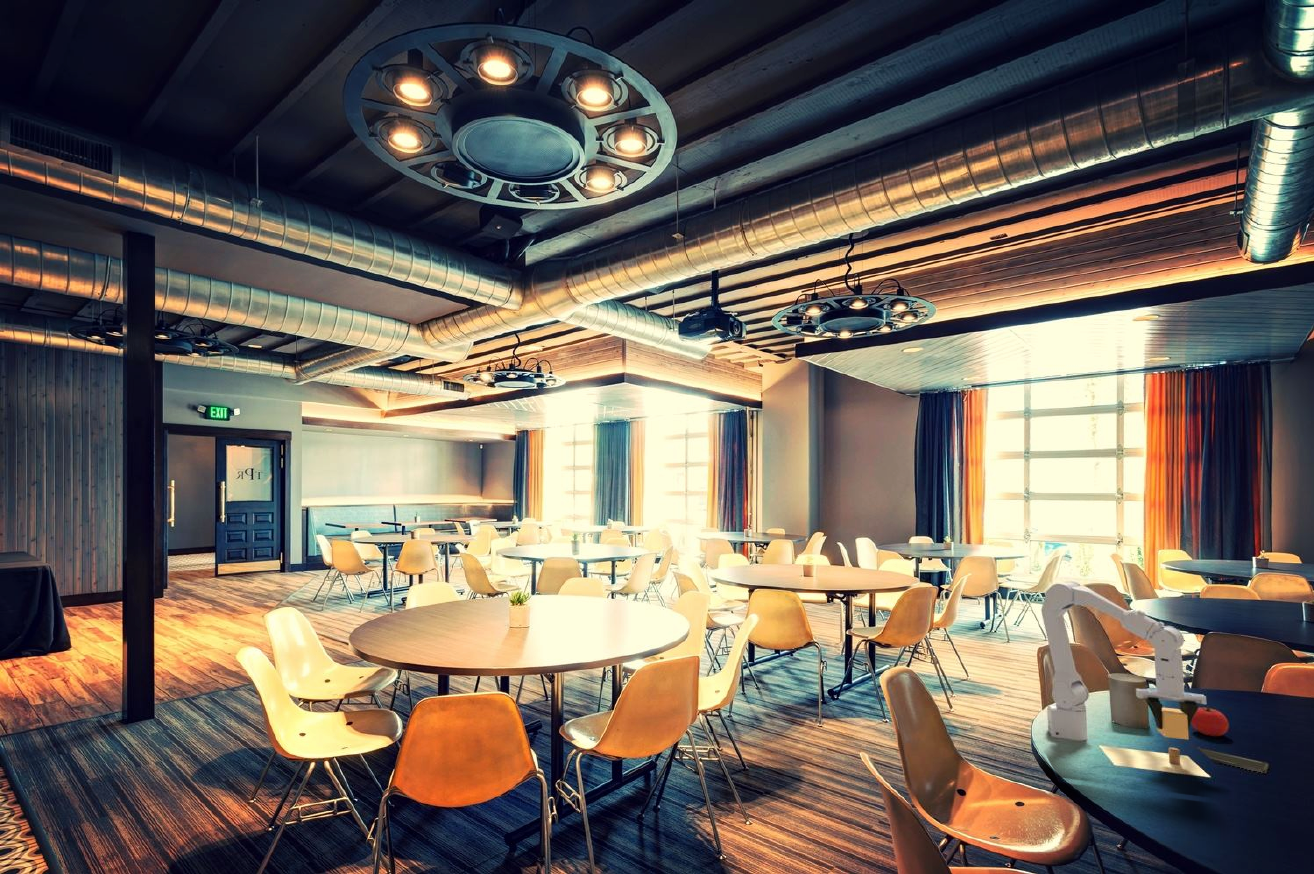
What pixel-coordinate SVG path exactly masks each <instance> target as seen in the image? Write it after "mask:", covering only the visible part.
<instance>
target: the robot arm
mask: <svg viewBox="0 0 1314 874" xmlns="http://www.w3.org/2000/svg"><path fill="white" fill-rule="evenodd" d="M1044 594H1045V597H1044V600H1043V604H1042V606H1041V608H1040V609H1041V616H1042V620H1043V625H1044V629H1045V633H1046V638H1047V641H1048V646H1049V647H1048V648H1049V650H1050V656H1051V659H1052V664H1053V670H1054V674H1053V675H1054V676H1053V678H1052V685H1053V688H1052V692H1051V694H1052V695H1051V696H1052V699H1053V702H1055V704H1048V705H1047V712H1046V713H1047V730H1048V732H1049V734H1050V736H1051V737H1052V738H1059V739H1066V740H1071V741H1086V740H1088V728H1087V726H1088V725H1087V710H1086V709H1087V706H1086V705H1085V702H1087V701H1088V699H1089V698H1090V697H1089V696H1090V695H1089V694H1090V693H1089V689H1088V688H1087V686H1086V685H1085V684H1084V682H1083V679H1082V675H1080V674H1079V672H1078V671H1077V670H1076V669H1077V668H1076V666H1075V660H1074V657H1073V652H1072V648H1071V643H1070V639H1069V636H1068V634H1069V633H1068V630H1067V626H1066V622H1065V617H1064V615H1065V614H1066V613H1067V612H1068V611H1069V609H1070V608H1072V607H1073V606H1089V607H1092V608H1094V609H1096V610H1098V611H1100V612H1102V613H1103V614H1106V615H1107V616H1109V617H1111V618H1114V619H1116V620H1117V621H1119V622H1120V624H1121V627H1122V628H1123V629H1125V630H1127V631H1128V632H1131V634H1134V635H1136V636H1137V637H1139V638H1141V639H1143V640H1145V641H1147V642H1150V645H1151V646H1152V647H1153V648H1154V669H1155V671H1154V672H1155V683H1156V684H1155V687H1156V688H1147V689H1136V696H1137V697H1138V698H1145V700H1146V702H1147V703H1148V708H1149V709H1150V711H1151V713H1152V716H1153V718H1154V722H1155V725H1156V727H1158V728H1159V729H1162V708H1163V704H1162V703H1161V701H1160V700H1162V701H1163V700H1164V701H1173V702H1174V701H1175V702H1178V703H1179V705H1180V710H1181V711H1182V712H1184V713H1185V714H1186V715H1187V721H1188V733H1189V732H1190V728H1191V725H1192V724H1191V721H1192V718H1193V716H1194V714H1195V713H1196V711H1197V710H1198V708H1199V705H1198V704H1200V705H1207V695H1206V696H1205V695H1204V694H1200V693H1199V694H1198V693H1194V692H1193V693H1192V692H1188V691H1187V692H1186V691H1185V686H1184V685H1185V684H1184V669H1183V668H1184V666H1183V658H1182V655H1183V654H1182V648H1181V647H1183V645H1184V643H1185V638H1184V635H1183V634H1182V633H1181V631H1180V630H1178V629H1177V628H1175V627H1174V626H1171V625H1165V623H1164V622H1162V621H1157V620H1155V619H1153V618H1151V617H1149V616H1147V615H1145V614H1146V613H1145V611H1142V610H1140V609H1139V610H1136V609H1129V610H1126V609H1124V608H1123V607H1121V606H1120V605H1117V604H1116V603H1115V602H1113V601H1111V600H1109V599H1107V598H1105V597H1104V596H1102V595H1100V594H1099V593H1097V592H1096V591H1093V590H1092V589H1090V588H1089V587H1087V586H1085V585H1081V584H1080V583H1079V582H1076V581H1072V580H1071V581H1066V582H1061V583H1055V584H1053V585H1051V586H1050V587H1049V588H1048V589H1046V591H1045V593H1044ZM1158 728H1157V729H1158Z"/></svg>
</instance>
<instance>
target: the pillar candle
mask: <svg viewBox="0 0 1314 874" xmlns="http://www.w3.org/2000/svg"><path fill="white" fill-rule="evenodd" d="M1107 676H1108V688H1109V690H1108V691H1109V707H1110V709H1109V710H1110V718H1111V719H1110V720H1111V722H1112V721H1114V722H1116V723H1115V724H1117V723H1118V725H1121V726H1122V725H1123V727H1126V726H1127V727H1126V728H1133V729H1146V728H1149V727H1150V715H1149V714H1150V713H1149V705H1148V703H1147V702H1146V700H1145V698H1138V697H1137V696H1136V689H1148V686H1147V679H1146V678H1145V677H1142V676H1139V675H1135V674H1131V673H1109V674H1107ZM1114 722H1113V723H1114Z"/></svg>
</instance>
